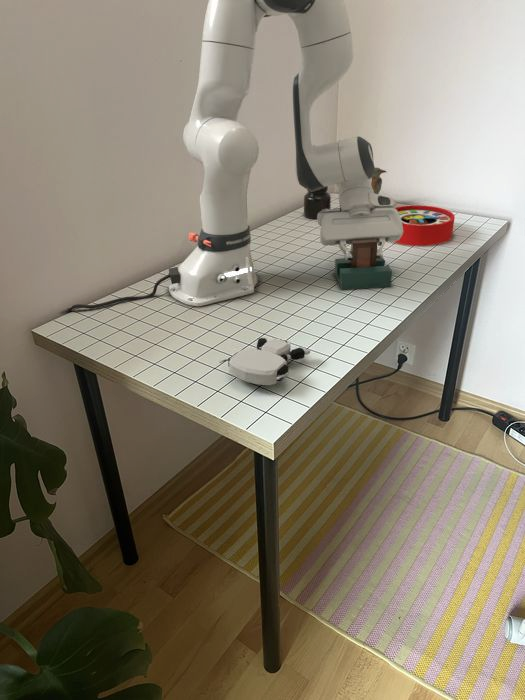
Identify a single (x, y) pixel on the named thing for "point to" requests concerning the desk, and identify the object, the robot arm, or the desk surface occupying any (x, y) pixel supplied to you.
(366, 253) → the frame
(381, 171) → the bird figurine
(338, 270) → the holder
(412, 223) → the toy clock
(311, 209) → the ink bottle
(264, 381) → the robot toy
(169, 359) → the desk surface
